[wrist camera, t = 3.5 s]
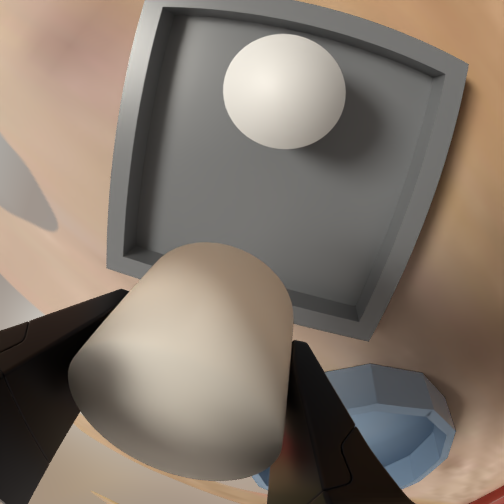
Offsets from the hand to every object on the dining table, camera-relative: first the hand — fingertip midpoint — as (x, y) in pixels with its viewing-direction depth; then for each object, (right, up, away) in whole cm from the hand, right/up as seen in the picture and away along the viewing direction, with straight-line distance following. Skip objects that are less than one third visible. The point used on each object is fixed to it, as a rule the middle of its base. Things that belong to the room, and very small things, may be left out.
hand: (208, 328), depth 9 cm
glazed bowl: (+10, -15, +16) cm, 24 cm away
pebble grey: (+3, +10, +6) cm, 12 cm away
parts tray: (+2, +7, +8) cm, 11 cm away
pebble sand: (0, 0, +1) cm, 1 cm away
